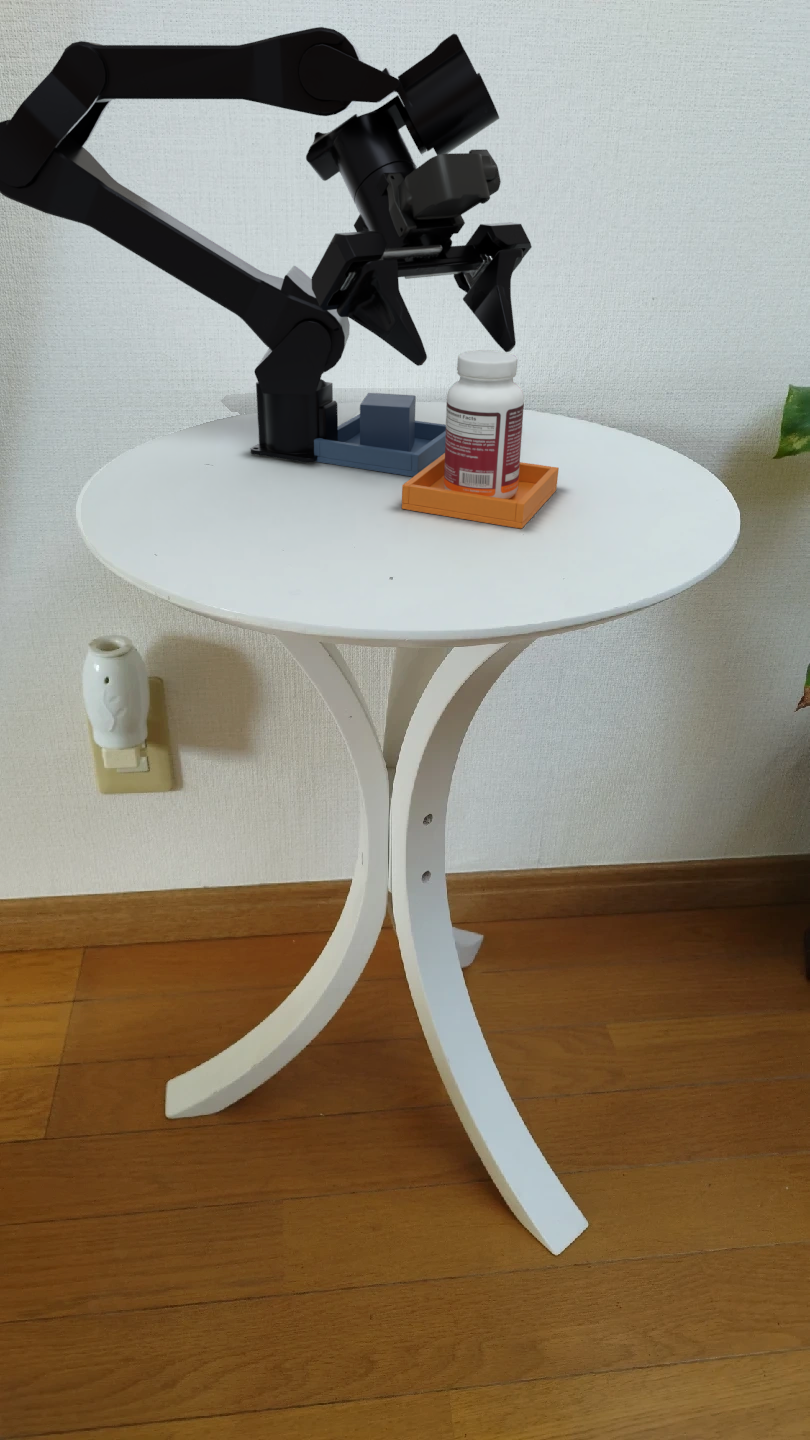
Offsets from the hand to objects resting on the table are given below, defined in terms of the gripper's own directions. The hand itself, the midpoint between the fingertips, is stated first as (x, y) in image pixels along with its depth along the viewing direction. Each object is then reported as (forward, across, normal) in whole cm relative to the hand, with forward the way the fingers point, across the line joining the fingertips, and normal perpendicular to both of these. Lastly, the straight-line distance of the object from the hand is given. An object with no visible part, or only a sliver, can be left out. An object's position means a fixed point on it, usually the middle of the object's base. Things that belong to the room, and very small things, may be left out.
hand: (468, 355), depth 80 cm
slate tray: (-1, +1, +16) cm, 16 cm away
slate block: (-1, +1, +16) cm, 16 cm away
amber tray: (+10, 0, +6) cm, 11 cm away
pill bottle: (+9, 0, +6) cm, 11 cm away
